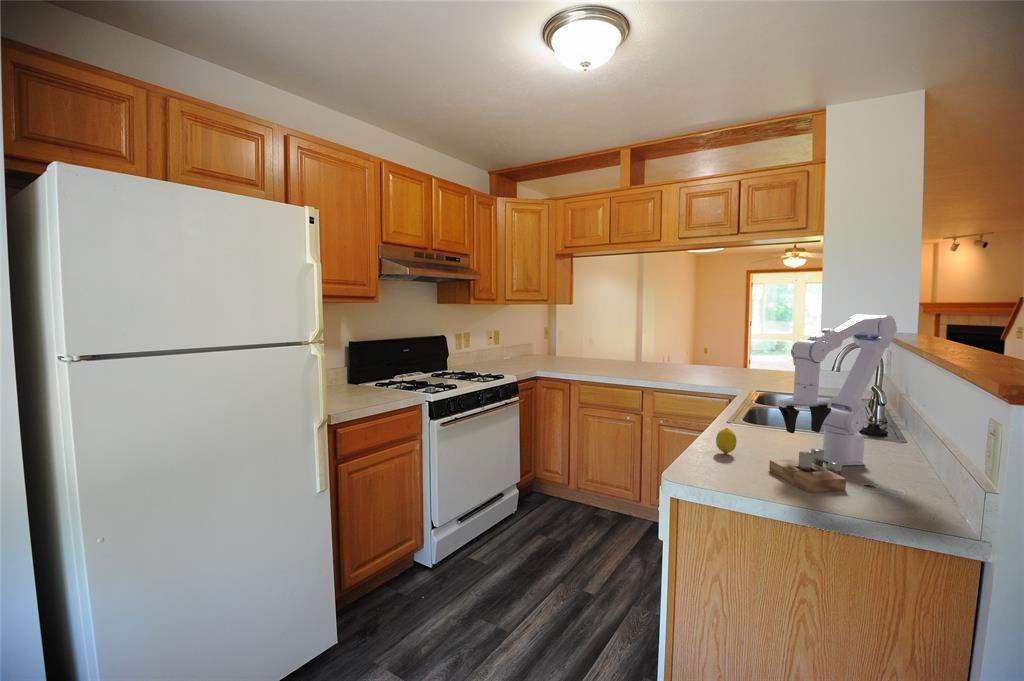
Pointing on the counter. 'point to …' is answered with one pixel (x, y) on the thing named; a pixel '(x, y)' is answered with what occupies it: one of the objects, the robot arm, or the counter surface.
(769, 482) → the counter surface
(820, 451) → the pin medium
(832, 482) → the hole block
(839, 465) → the pin short
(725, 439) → the lemon
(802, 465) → the pin tall
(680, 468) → the counter surface
